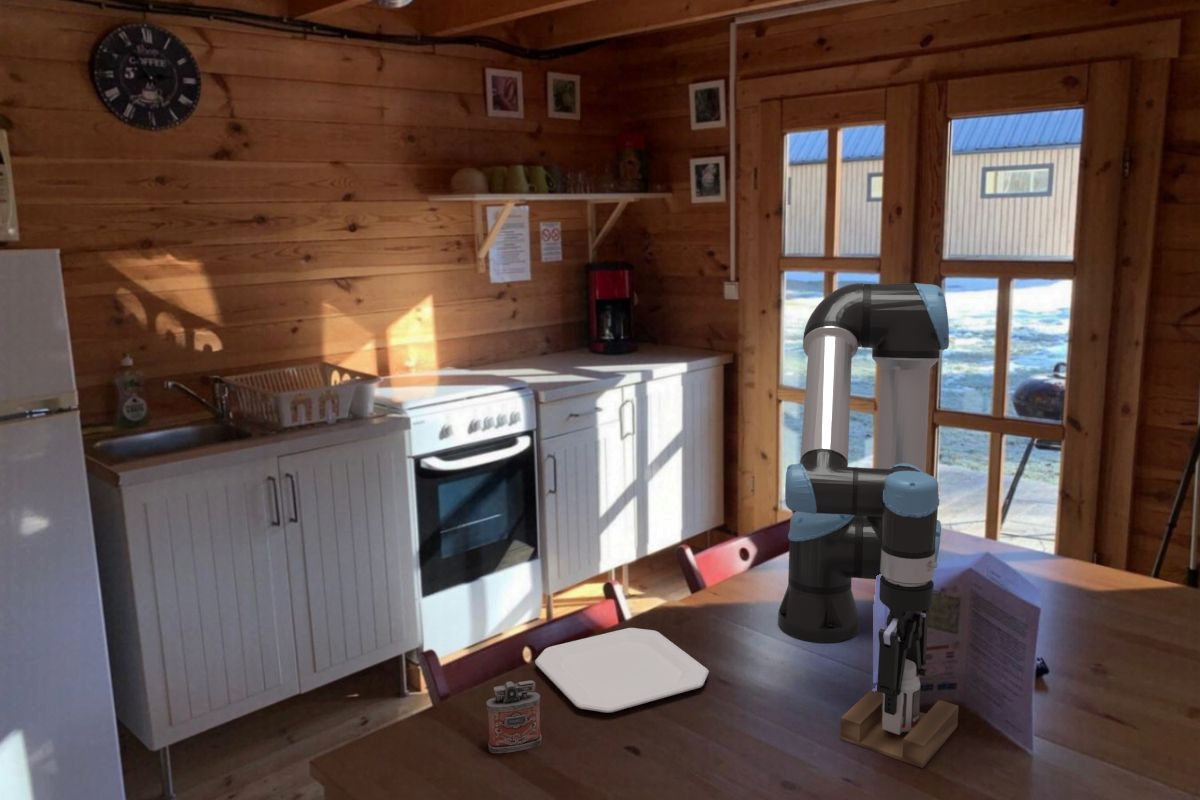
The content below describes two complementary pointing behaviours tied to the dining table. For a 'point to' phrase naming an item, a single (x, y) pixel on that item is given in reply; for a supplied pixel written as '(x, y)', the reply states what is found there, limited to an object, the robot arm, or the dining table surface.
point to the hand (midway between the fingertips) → (899, 721)
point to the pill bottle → (909, 697)
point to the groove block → (908, 746)
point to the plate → (620, 669)
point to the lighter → (514, 718)
